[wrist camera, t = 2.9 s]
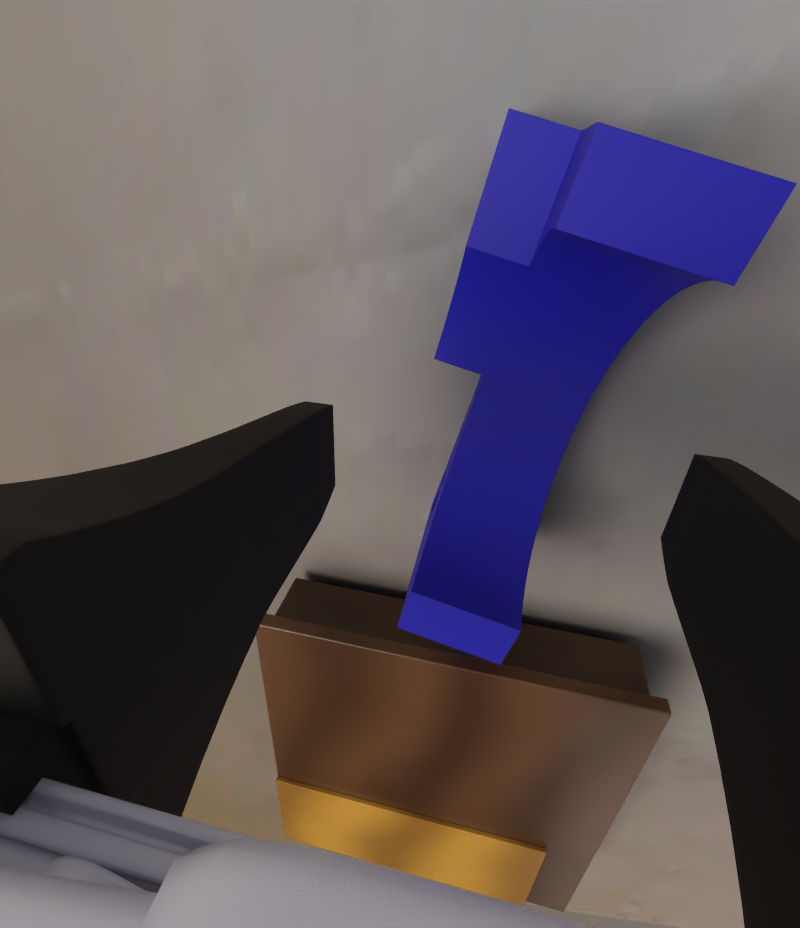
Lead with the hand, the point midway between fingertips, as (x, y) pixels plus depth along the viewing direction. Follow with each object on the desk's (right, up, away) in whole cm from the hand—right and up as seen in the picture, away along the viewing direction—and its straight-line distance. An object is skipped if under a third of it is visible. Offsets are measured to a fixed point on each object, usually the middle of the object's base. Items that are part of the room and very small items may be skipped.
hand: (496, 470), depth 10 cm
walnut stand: (0, -12, +15) cm, 20 cm away
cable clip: (+1, +3, +5) cm, 7 cm away
